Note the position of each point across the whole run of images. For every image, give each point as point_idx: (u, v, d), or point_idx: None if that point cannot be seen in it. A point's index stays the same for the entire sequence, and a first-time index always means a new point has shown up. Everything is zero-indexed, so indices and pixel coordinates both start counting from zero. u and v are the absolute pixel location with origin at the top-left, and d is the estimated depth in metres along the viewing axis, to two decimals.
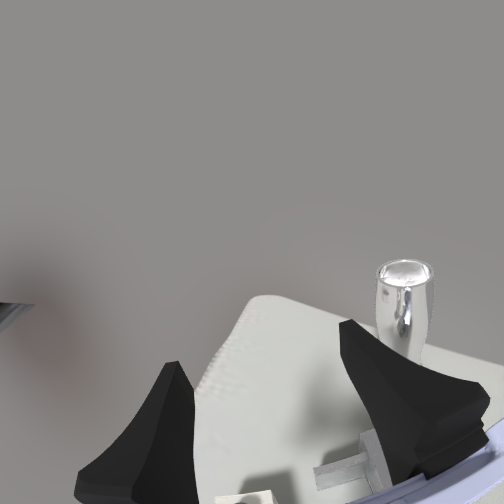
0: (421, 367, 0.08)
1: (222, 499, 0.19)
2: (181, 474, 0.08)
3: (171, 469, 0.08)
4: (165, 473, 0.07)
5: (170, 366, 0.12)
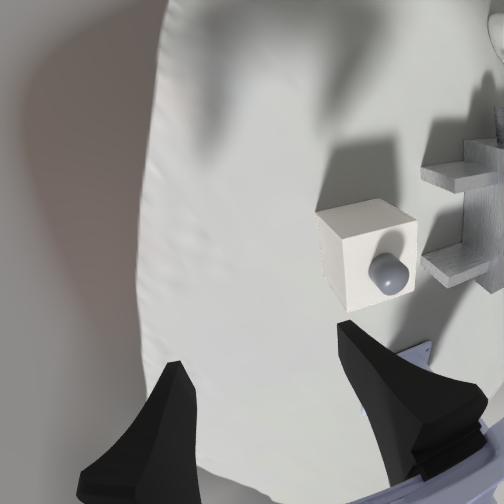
0: (419, 368, 0.08)
1: (354, 242, 0.16)
2: (183, 474, 0.08)
3: (174, 469, 0.08)
4: (168, 473, 0.07)
5: (172, 365, 0.12)
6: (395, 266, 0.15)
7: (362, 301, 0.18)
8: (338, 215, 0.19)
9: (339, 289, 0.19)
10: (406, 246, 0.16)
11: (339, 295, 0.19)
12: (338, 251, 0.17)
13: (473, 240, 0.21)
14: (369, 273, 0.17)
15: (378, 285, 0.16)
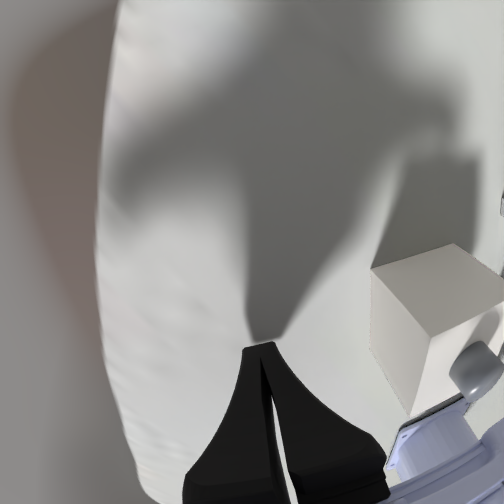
0: (319, 404, 0.08)
1: (445, 338, 0.08)
2: (278, 461, 0.08)
3: (275, 456, 0.08)
4: (274, 460, 0.07)
5: (252, 350, 0.12)
6: (493, 369, 0.08)
7: (431, 402, 0.10)
8: (409, 279, 0.11)
9: (401, 386, 0.11)
10: (499, 327, 0.09)
11: (399, 391, 0.11)
12: (414, 345, 0.09)
13: None
14: (450, 372, 0.09)
15: (465, 394, 0.08)
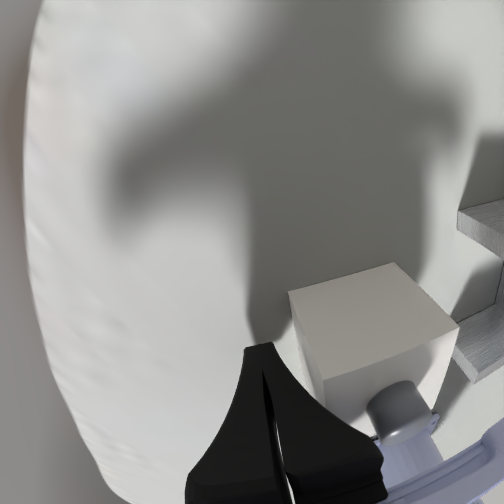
0: (316, 405, 0.08)
1: (346, 380, 0.08)
2: (280, 461, 0.08)
3: (277, 455, 0.08)
4: (277, 460, 0.07)
5: (253, 349, 0.12)
6: (412, 417, 0.07)
7: None
8: (325, 306, 0.11)
9: None
10: (433, 366, 0.09)
11: None
12: (317, 382, 0.09)
13: None
14: (367, 411, 0.09)
15: (379, 438, 0.08)
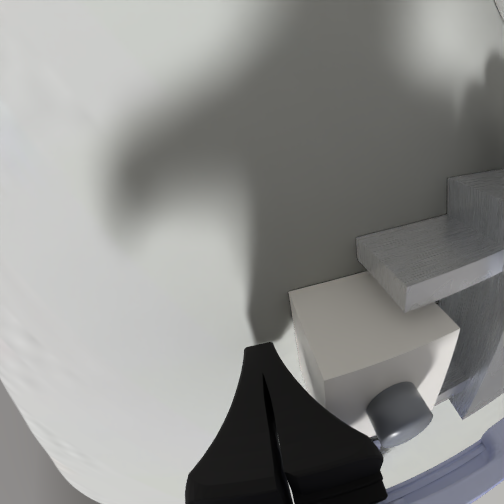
0: (316, 405, 0.08)
1: (347, 381, 0.08)
2: (280, 461, 0.08)
3: (277, 455, 0.08)
4: (277, 460, 0.07)
5: (253, 349, 0.12)
6: (412, 418, 0.07)
7: None
8: (326, 307, 0.11)
9: None
10: (434, 367, 0.09)
11: None
12: (317, 382, 0.09)
13: None
14: (367, 412, 0.09)
15: (379, 439, 0.08)
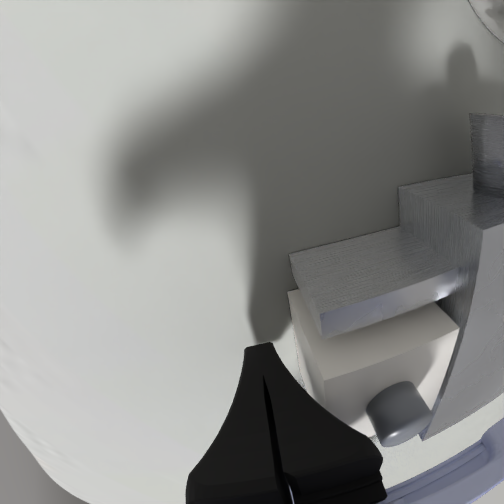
0: (316, 405, 0.08)
1: (347, 381, 0.08)
2: (281, 461, 0.08)
3: (278, 455, 0.08)
4: (277, 459, 0.07)
5: (254, 349, 0.12)
6: (412, 417, 0.07)
7: None
8: None
9: None
10: (433, 367, 0.09)
11: None
12: (317, 382, 0.09)
13: None
14: (367, 412, 0.09)
15: (379, 439, 0.08)
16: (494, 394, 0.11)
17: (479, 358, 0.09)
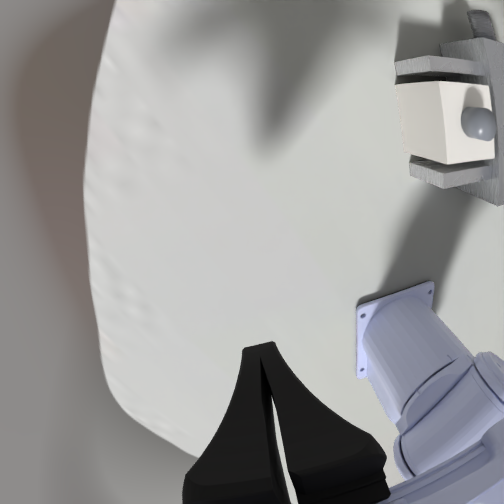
0: (319, 404, 0.08)
1: (448, 87, 0.13)
2: (278, 461, 0.08)
3: (275, 456, 0.08)
4: (274, 460, 0.07)
5: (252, 350, 0.12)
6: (486, 110, 0.12)
7: (458, 154, 0.14)
8: None
9: (434, 145, 0.15)
10: (484, 107, 0.13)
11: (433, 153, 0.15)
12: (432, 99, 0.14)
13: None
14: (461, 123, 0.13)
15: (475, 126, 0.12)
16: None
17: None
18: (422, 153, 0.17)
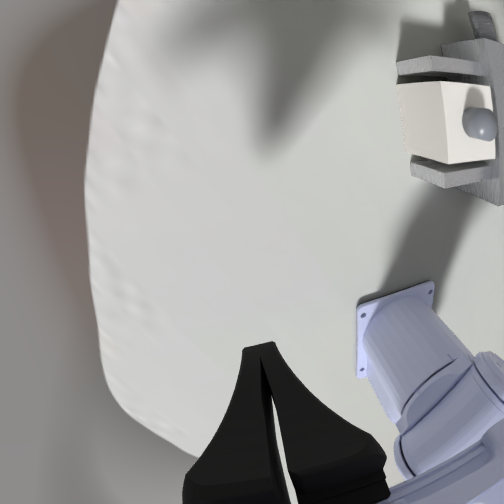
0: (319, 404, 0.08)
1: (449, 87, 0.13)
2: (278, 461, 0.08)
3: (275, 456, 0.08)
4: (274, 460, 0.07)
5: (252, 350, 0.12)
6: (487, 110, 0.12)
7: (459, 154, 0.14)
8: None
9: (435, 145, 0.15)
10: (485, 107, 0.13)
11: (435, 152, 0.16)
12: (434, 99, 0.14)
13: None
14: (463, 123, 0.13)
15: (477, 127, 0.12)
16: None
17: None
18: (423, 153, 0.17)
